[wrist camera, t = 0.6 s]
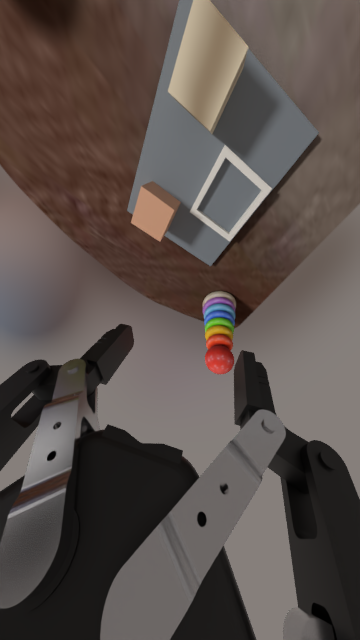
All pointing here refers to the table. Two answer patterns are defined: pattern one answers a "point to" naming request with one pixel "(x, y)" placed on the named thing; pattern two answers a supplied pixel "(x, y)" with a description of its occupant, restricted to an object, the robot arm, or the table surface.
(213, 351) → the stacking toy
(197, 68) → the maple block
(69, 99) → the table surface
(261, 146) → the board
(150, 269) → the table surface
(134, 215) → the terracotta block
